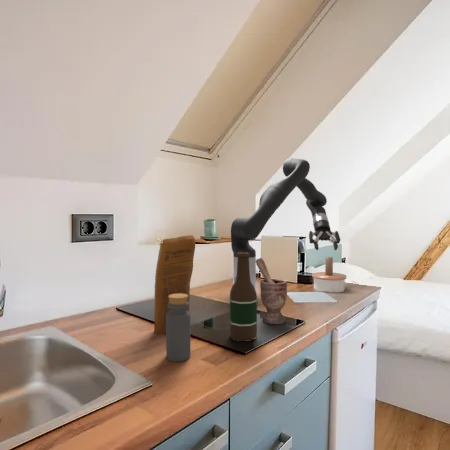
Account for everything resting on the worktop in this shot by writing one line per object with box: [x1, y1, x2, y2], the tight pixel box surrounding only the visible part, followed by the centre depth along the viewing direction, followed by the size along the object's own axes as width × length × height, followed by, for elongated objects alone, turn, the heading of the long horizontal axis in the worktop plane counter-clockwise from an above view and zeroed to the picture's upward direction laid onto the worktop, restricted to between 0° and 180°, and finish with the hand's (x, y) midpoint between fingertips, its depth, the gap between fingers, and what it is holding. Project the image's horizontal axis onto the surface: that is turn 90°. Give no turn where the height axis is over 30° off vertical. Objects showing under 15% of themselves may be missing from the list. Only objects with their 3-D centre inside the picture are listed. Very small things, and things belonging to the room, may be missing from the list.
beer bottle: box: [229, 252, 258, 341], centre depth 94 cm, size 8×8×24 cm
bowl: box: [313, 278, 346, 293], centre depth 154 cm, size 13×13×6 cm
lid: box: [311, 256, 347, 281], centre depth 153 cm, size 15×15×9 cm
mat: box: [287, 291, 338, 304], centre depth 139 cm, size 17×17×1 cm
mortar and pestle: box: [256, 257, 288, 325], centre depth 110 cm, size 12×9×20 cm
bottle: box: [165, 293, 191, 362], centre depth 82 cm, size 6×6×15 cm
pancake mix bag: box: [153, 234, 196, 335], centre depth 103 cm, size 7×19×28 cm, turn 148°
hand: (326, 249), depth 159 cm, fingers open, 8 cm apart
